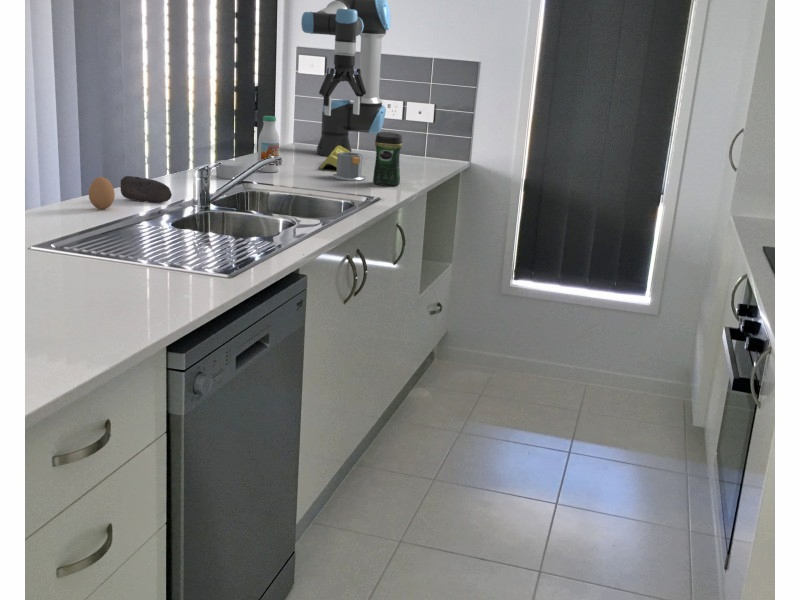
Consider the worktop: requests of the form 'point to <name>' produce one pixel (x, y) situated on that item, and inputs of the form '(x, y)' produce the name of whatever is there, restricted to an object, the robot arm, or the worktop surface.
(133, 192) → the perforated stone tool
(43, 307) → the worktop surface
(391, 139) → the coffee jar
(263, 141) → the milk bottle
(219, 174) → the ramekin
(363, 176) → the duct stub
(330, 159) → the plastic component
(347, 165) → the grey octagonal holder
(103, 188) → the egg
